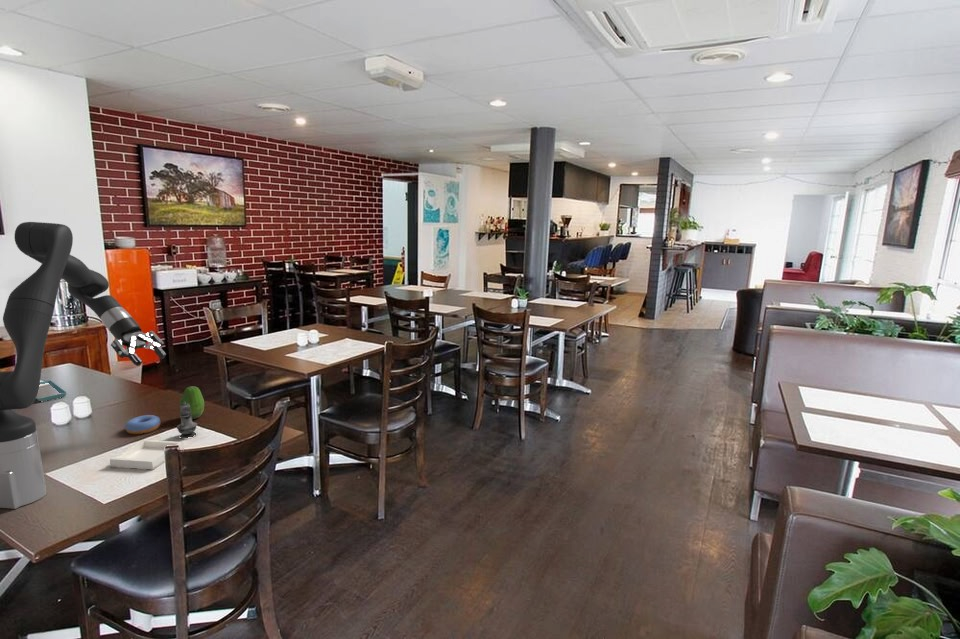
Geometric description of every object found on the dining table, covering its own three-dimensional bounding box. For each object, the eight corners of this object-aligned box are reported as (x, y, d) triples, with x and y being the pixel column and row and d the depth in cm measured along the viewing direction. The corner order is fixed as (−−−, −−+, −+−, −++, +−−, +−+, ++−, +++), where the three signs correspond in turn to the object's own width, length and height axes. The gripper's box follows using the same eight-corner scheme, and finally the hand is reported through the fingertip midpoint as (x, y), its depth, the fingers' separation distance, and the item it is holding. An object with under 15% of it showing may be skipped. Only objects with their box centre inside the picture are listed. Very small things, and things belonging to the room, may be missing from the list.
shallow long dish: (23, 390, 206) (21, 384, 205) (51, 384, 213) (50, 379, 212) (38, 404, 190) (37, 398, 189) (68, 398, 197) (67, 392, 196)
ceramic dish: (153, 469, 141) (152, 461, 140) (110, 467, 142) (109, 459, 142) (184, 449, 154) (183, 442, 153) (144, 447, 155) (144, 439, 154)
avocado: (209, 417, 179) (206, 385, 176) (186, 424, 172) (183, 391, 170) (199, 412, 183) (196, 381, 181) (176, 418, 177) (172, 386, 175)
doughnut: (135, 437, 161) (134, 423, 161) (119, 432, 166) (118, 419, 166) (167, 429, 170) (166, 416, 169) (151, 425, 175) (150, 412, 174)
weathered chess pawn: (188, 440, 160) (185, 405, 158) (173, 438, 161) (169, 403, 159) (202, 433, 166) (198, 398, 163) (187, 431, 167) (183, 397, 164)
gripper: (104, 320, 154) (137, 359, 154) (145, 312, 168) (176, 348, 167) (93, 335, 157) (126, 374, 156) (135, 326, 170) (165, 362, 170)
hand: (152, 360), depth 162 cm, fingers open, 8 cm apart
